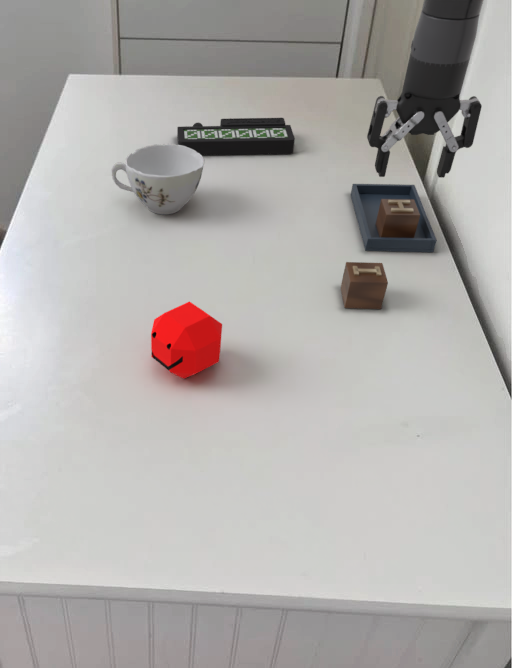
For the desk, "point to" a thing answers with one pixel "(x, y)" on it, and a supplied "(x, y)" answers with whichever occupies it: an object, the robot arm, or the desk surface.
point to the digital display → (239, 137)
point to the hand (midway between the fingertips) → (410, 175)
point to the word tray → (367, 209)
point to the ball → (186, 340)
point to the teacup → (162, 176)
